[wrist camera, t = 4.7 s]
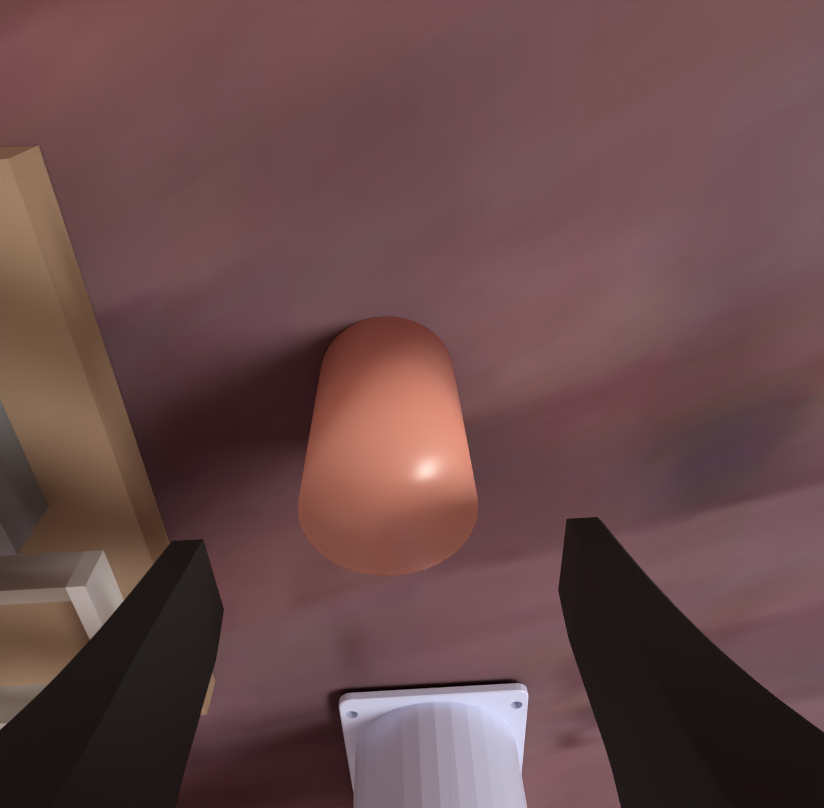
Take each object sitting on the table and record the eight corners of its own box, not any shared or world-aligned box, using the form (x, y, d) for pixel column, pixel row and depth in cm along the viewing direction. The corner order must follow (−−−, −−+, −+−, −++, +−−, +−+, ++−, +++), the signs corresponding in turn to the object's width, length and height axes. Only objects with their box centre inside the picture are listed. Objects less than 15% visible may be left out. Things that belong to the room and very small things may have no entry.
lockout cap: (454, 428, 21) (477, 570, 16) (328, 435, 21) (309, 580, 16) (453, 313, 18) (479, 434, 13) (312, 320, 18) (285, 444, 13)
